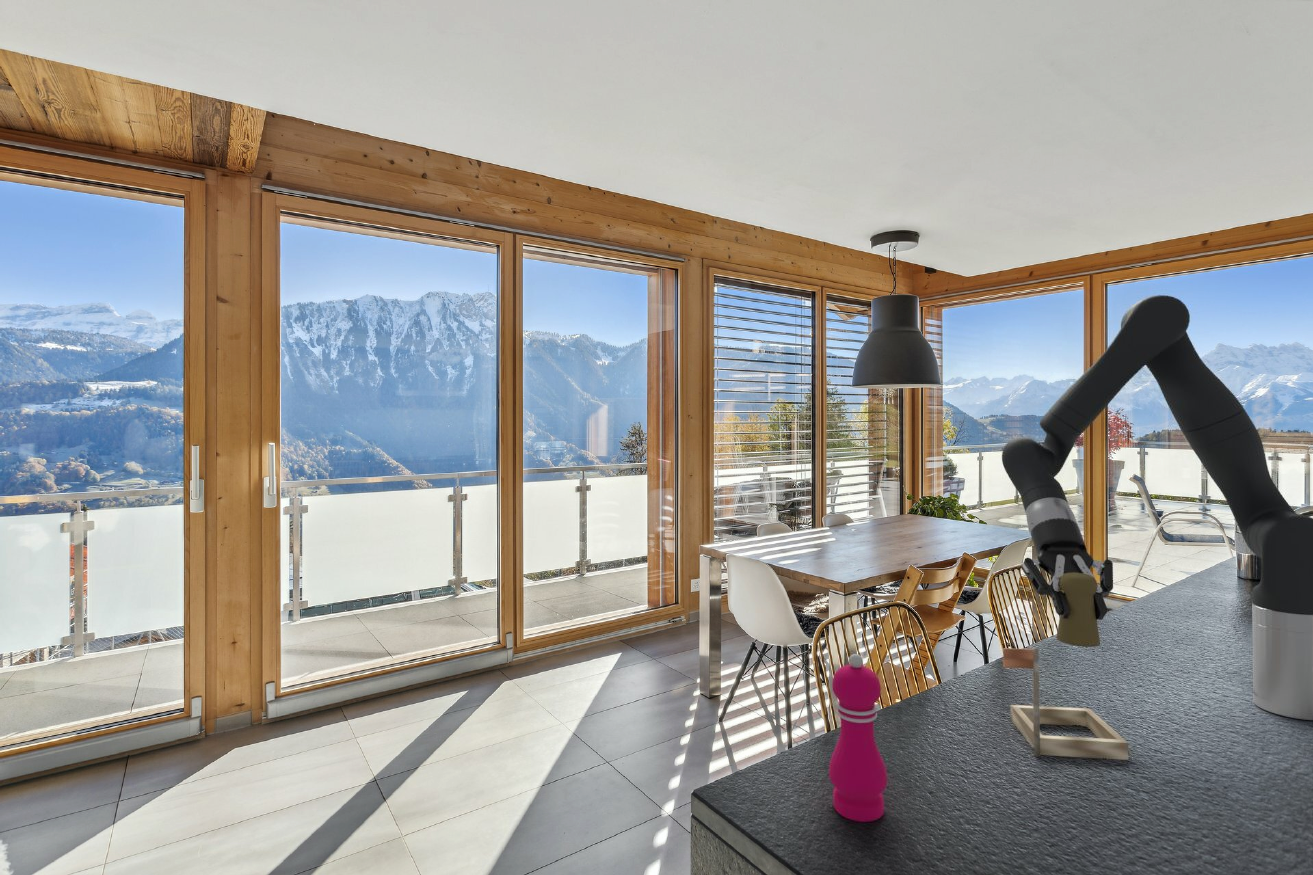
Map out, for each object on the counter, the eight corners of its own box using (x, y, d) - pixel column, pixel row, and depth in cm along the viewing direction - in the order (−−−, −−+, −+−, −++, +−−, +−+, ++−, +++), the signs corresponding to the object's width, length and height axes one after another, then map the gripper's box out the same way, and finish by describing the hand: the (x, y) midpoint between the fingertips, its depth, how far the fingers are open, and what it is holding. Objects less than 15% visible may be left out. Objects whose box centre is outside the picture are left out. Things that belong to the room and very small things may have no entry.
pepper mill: (821, 794, 89) (819, 646, 89) (874, 791, 90) (871, 643, 90) (841, 826, 82) (838, 665, 82) (897, 822, 83) (895, 662, 83)
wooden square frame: (1089, 723, 109) (1088, 626, 109) (1131, 762, 96) (1129, 652, 96) (979, 718, 112) (978, 622, 111) (1005, 755, 99) (1004, 647, 99)
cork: (1107, 648, 105) (1107, 578, 105) (1064, 645, 106) (1064, 576, 106) (1091, 636, 111) (1091, 570, 111) (1050, 633, 112) (1051, 568, 112)
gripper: (1015, 516, 117) (1040, 603, 105) (1105, 517, 114) (1142, 606, 102) (1005, 541, 122) (1029, 626, 111) (1091, 542, 119) (1125, 630, 108)
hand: (1083, 616), depth 107 cm, fingers closed on cork, 4 cm apart
